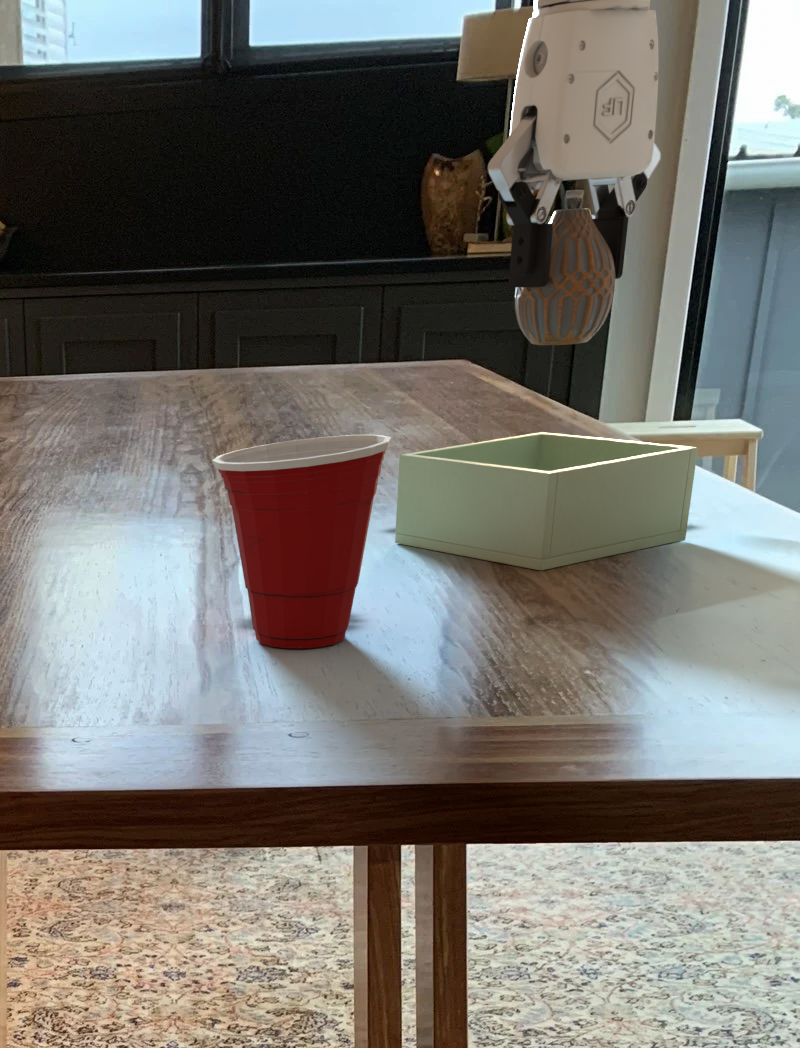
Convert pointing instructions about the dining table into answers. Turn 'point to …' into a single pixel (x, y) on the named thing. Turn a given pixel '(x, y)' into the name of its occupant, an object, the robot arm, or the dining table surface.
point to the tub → (544, 498)
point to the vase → (569, 284)
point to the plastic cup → (303, 531)
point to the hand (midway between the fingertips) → (565, 280)
